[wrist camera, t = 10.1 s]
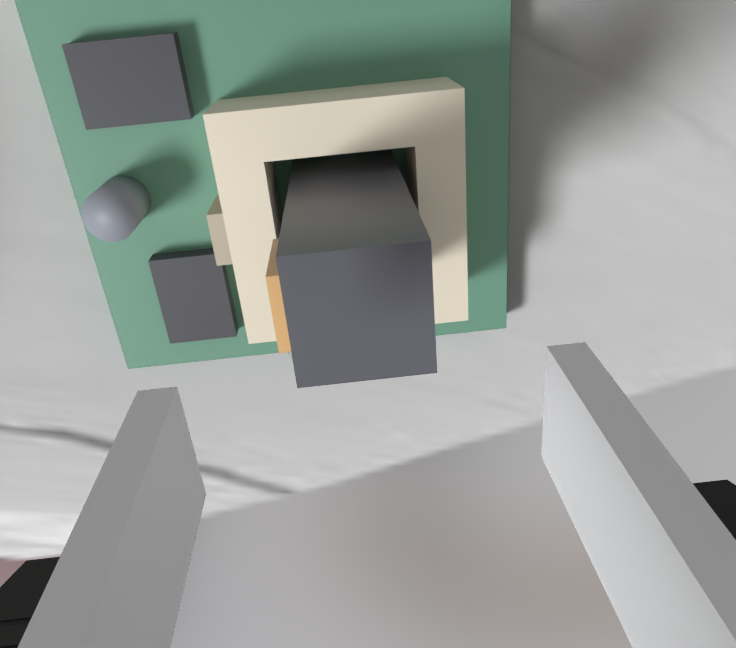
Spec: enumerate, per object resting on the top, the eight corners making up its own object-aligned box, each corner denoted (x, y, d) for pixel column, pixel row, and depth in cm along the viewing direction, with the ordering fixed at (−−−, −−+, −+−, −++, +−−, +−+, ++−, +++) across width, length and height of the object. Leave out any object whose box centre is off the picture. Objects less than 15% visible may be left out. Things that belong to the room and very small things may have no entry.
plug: (296, 251, 28) (281, 389, 18) (282, 160, 26) (257, 258, 16) (396, 241, 28) (437, 372, 18) (390, 149, 26) (431, 240, 16)
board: (134, 355, 31) (105, 411, 27) (24, -14, 24) (-40, -16, 19) (499, 316, 31) (527, 365, 27) (503, -61, 24) (541, -73, 20)
